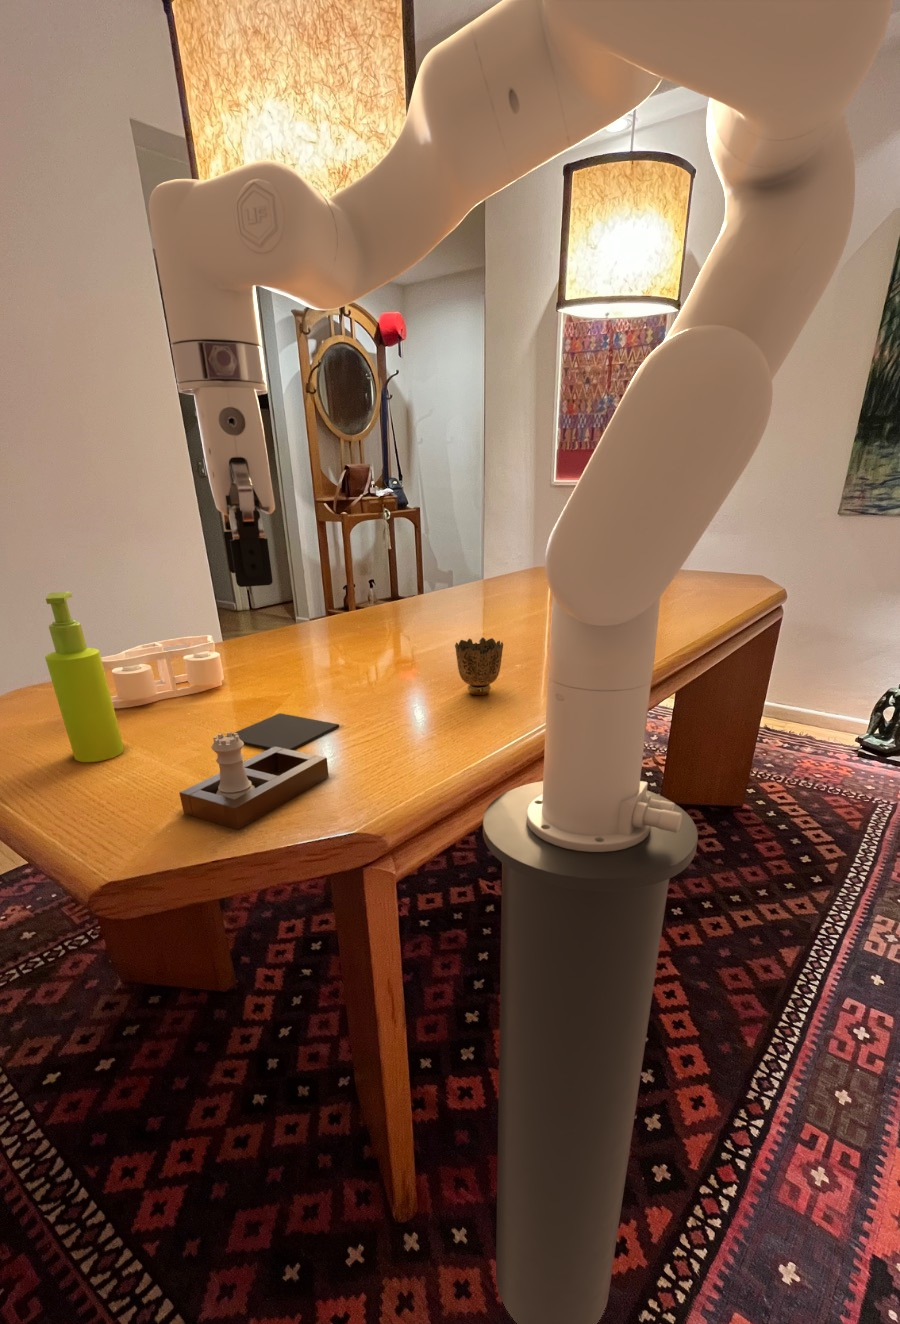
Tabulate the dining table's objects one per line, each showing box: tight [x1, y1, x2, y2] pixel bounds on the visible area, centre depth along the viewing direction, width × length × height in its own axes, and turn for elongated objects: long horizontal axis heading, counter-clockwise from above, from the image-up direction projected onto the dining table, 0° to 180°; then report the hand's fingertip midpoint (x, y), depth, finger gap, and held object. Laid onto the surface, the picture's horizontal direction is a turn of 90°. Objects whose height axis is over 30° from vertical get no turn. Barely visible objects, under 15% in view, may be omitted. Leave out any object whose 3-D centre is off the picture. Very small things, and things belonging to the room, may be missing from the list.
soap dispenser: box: [44, 591, 125, 763], centre depth 83 cm, size 6×7×20 cm
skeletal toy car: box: [101, 634, 225, 709], centre depth 109 cm, size 20×11×7 cm, turn 131°
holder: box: [179, 747, 330, 831], centre depth 75 cm, size 8×14×2 cm, turn 151°
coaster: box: [225, 713, 340, 751], centre depth 92 cm, size 11×11×1 cm
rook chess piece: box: [210, 731, 255, 799], centre depth 71 cm, size 4×4×8 cm
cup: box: [454, 637, 504, 696], centre depth 105 cm, size 8×7×8 cm
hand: (250, 578), depth 66 cm, fingers open, 9 cm apart
